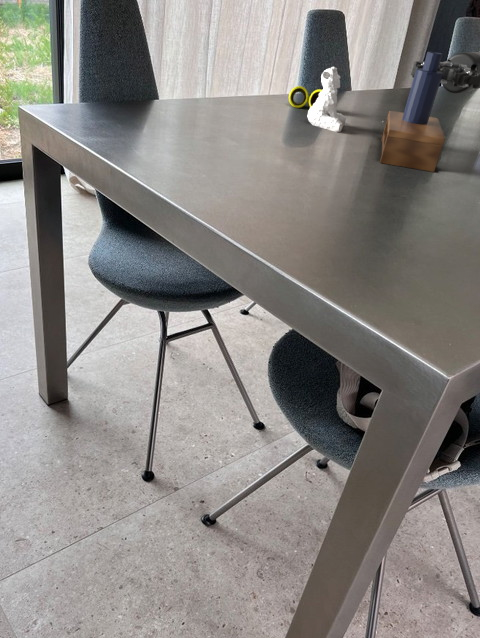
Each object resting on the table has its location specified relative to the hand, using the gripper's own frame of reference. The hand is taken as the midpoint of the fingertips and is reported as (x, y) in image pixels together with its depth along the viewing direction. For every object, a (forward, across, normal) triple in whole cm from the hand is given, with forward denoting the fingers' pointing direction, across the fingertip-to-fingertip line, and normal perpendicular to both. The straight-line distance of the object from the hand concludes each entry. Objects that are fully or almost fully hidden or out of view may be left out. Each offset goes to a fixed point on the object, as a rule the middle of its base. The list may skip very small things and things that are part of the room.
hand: (435, 75), depth 110 cm
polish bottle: (+3, 0, -8) cm, 9 cm away
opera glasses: (-14, +36, -14) cm, 41 cm away
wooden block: (+5, -1, -14) cm, 15 cm away
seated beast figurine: (0, +22, -14) cm, 26 cm away
